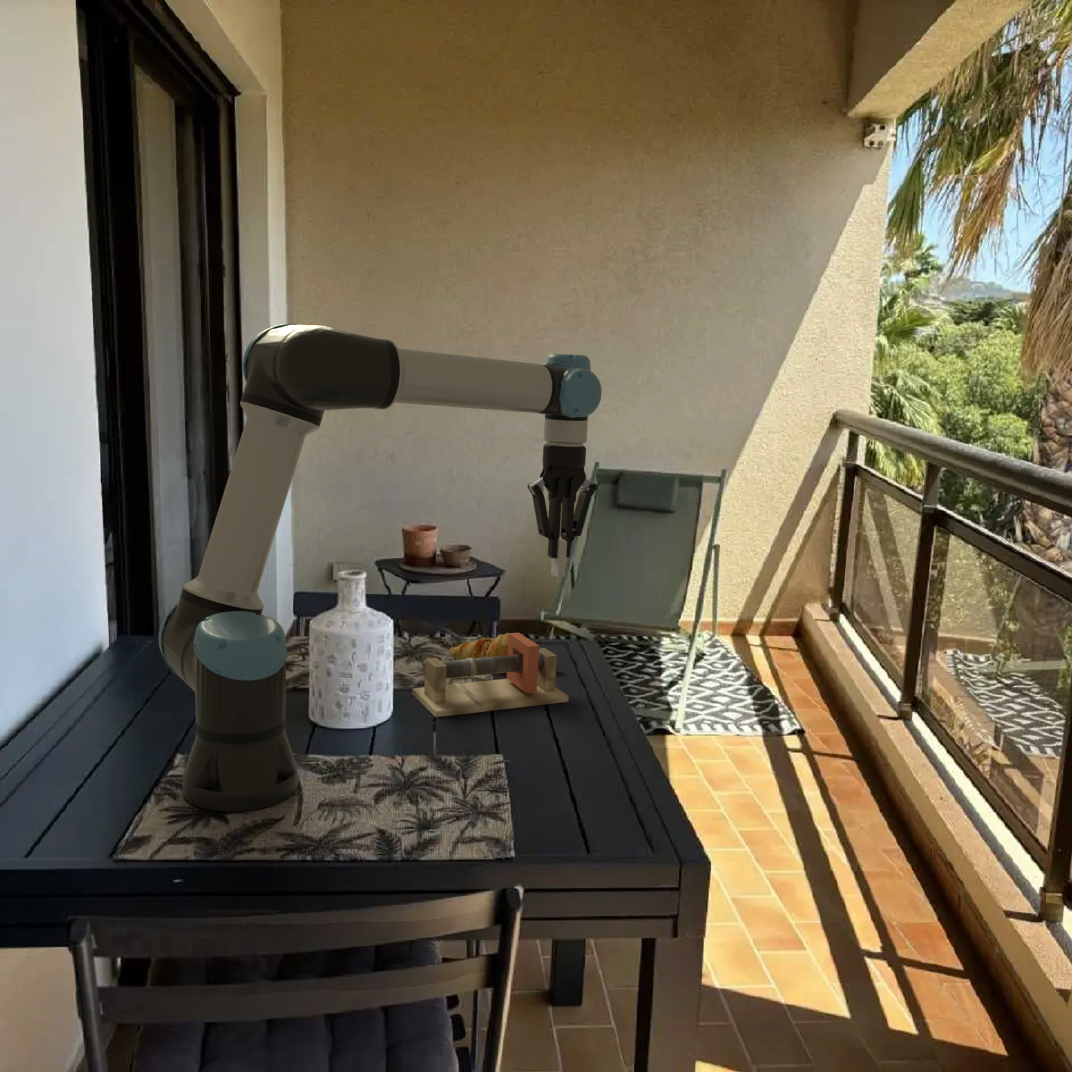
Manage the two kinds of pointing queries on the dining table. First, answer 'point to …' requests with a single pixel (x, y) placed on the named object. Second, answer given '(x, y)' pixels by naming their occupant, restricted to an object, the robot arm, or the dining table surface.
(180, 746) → the dining table surface
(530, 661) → the ring
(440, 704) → the pipe jig
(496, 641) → the croissant
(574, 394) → the robot arm
